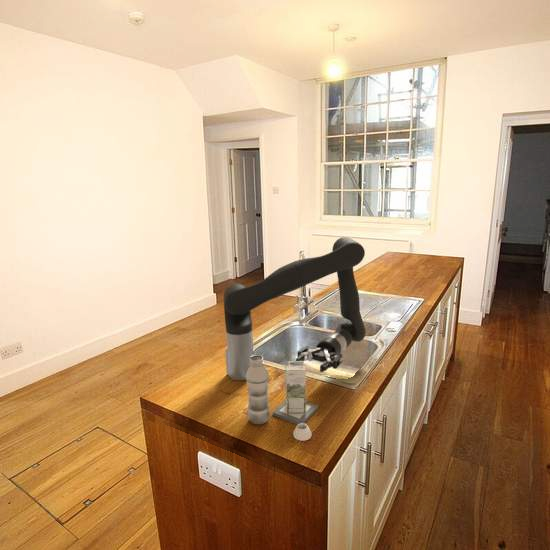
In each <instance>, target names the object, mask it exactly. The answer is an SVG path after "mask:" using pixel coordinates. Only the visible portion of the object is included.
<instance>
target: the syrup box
mask: <svg viewBox="0 0 550 550" xmlns="http://www.w3.org/2000/svg"><path fill="white" fill-rule="evenodd" d="M284 375H285V376H284V378H285V379H284V380H285V401H286V408H287V414H290V413H306V402H307V399H306V398H307V393H306V392H307V389H306V388H307V385H306V383H307V379H306V378H307V377H306V376H307V372H306V367H305V361H296V360H292V361H291V360H289V361H288V360H287V361H285V362H284Z"/></svg>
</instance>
